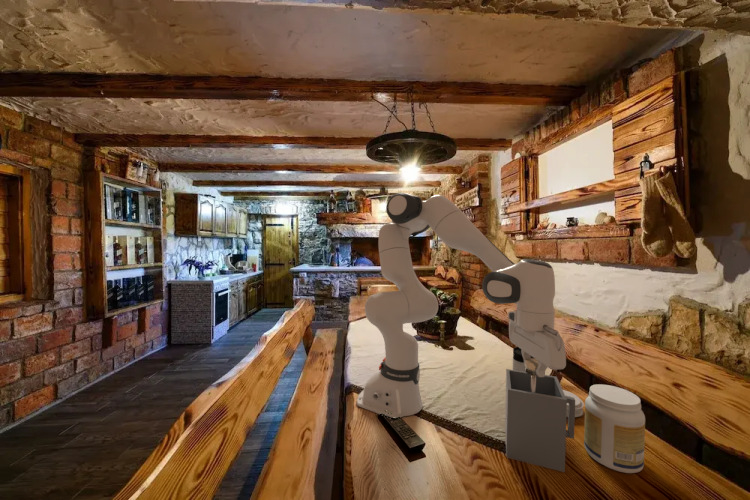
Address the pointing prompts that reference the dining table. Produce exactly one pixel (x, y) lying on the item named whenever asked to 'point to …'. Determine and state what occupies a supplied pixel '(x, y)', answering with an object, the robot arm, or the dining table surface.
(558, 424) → the box
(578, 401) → the lid
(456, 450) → the dining table surface
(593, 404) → the supplement tub
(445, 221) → the robot arm
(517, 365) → the travel mug
